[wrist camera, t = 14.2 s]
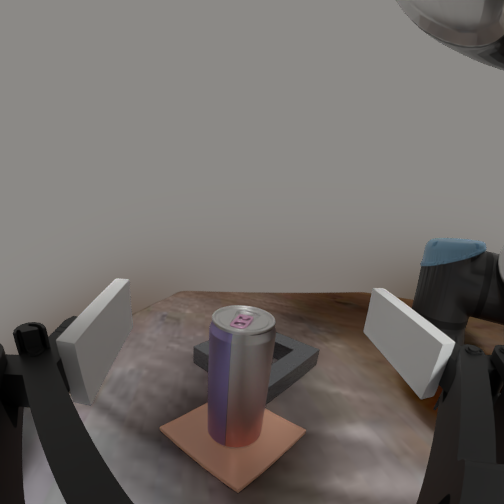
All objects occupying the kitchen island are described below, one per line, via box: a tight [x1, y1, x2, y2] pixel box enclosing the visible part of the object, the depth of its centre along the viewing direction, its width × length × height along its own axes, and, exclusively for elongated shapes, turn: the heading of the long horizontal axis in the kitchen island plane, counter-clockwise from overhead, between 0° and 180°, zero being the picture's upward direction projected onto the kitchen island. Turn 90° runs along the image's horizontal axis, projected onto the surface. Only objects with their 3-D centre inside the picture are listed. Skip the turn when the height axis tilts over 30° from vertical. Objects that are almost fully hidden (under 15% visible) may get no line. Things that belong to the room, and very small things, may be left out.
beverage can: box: [208, 305, 276, 448], centre depth 28 cm, size 6×6×15 cm
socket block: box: [194, 332, 319, 404], centre depth 45 cm, size 14×14×3 cm
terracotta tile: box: [160, 402, 306, 493], centre depth 29 cm, size 12×12×1 cm
